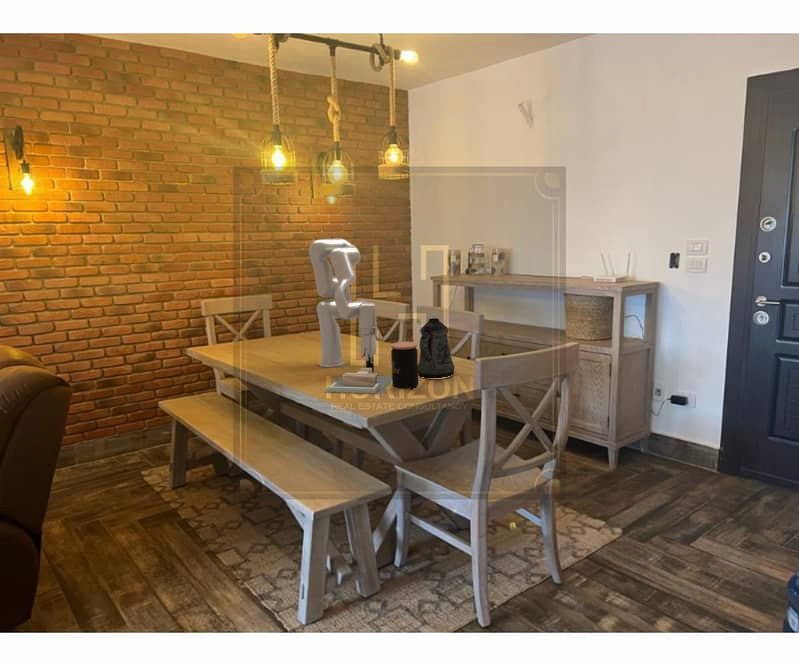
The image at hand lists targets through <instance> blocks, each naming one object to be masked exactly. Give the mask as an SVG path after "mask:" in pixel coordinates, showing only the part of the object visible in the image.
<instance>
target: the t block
mask: <svg viewBox="0 0 799 666" xmlns="http://www.w3.org/2000/svg"><path fill="white" fill-rule="evenodd" d="M341 376H342V380H343V385H360V386H375V385H376V384H377V383H378V376H379V374H378V373H373V372H372V368H366V367H361V368H360V369H359V370H358V371H357V372H345V373H343V374H342V375H341Z"/></svg>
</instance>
